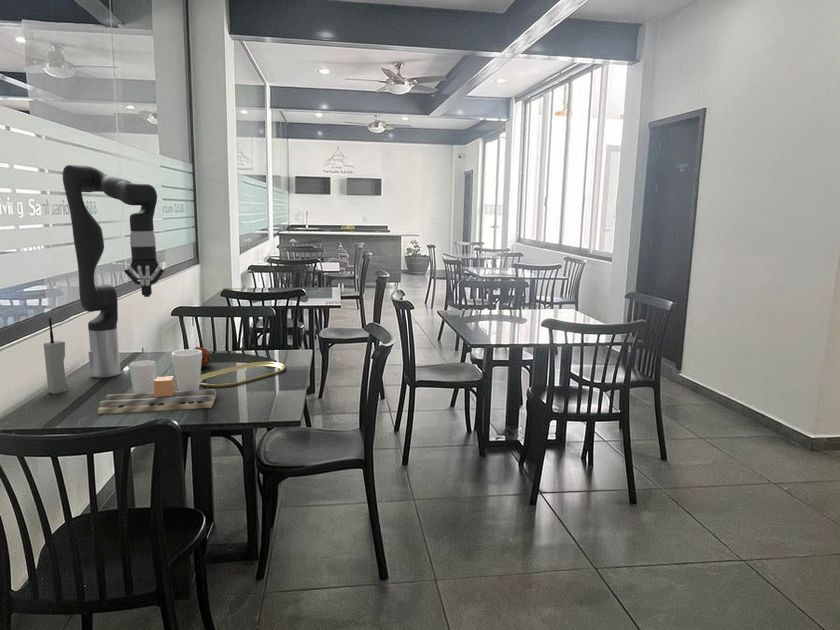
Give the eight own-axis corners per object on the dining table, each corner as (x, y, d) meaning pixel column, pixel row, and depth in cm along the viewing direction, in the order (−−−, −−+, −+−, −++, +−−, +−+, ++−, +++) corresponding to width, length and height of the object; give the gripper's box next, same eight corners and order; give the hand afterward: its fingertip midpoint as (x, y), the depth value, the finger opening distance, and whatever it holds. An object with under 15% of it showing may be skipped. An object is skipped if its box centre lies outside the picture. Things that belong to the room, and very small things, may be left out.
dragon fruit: (205, 374, 228) (190, 373, 236) (220, 358, 233) (205, 357, 241) (190, 358, 224) (176, 358, 232) (205, 342, 228) (191, 342, 237)
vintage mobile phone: (69, 390, 201) (62, 317, 197) (53, 394, 197) (46, 319, 193) (64, 388, 203) (57, 316, 199) (48, 392, 199) (40, 318, 195)
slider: (155, 402, 184) (153, 381, 183) (158, 397, 189) (157, 376, 187) (172, 401, 185) (171, 380, 184) (175, 396, 190) (174, 376, 188)
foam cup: (179, 386, 207) (177, 349, 204) (207, 385, 207) (204, 349, 205) (170, 394, 197) (167, 355, 195) (198, 393, 198) (196, 355, 196)
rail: (98, 414, 178) (97, 404, 177) (110, 401, 189) (109, 392, 189) (211, 407, 184) (211, 398, 183) (216, 396, 196) (216, 387, 195)
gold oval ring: (184, 383, 212) (184, 378, 212) (262, 363, 240) (262, 359, 240) (218, 392, 201) (218, 387, 201) (295, 370, 230) (295, 366, 230)
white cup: (147, 396, 195) (145, 366, 193) (126, 395, 196) (123, 365, 195) (162, 389, 203) (160, 360, 201) (141, 388, 204) (139, 359, 202)
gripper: (166, 244, 204) (170, 294, 207) (124, 244, 202) (128, 295, 205) (161, 245, 197) (165, 297, 200) (118, 245, 195) (122, 298, 197)
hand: (146, 296), depth 202 cm, fingers closed
